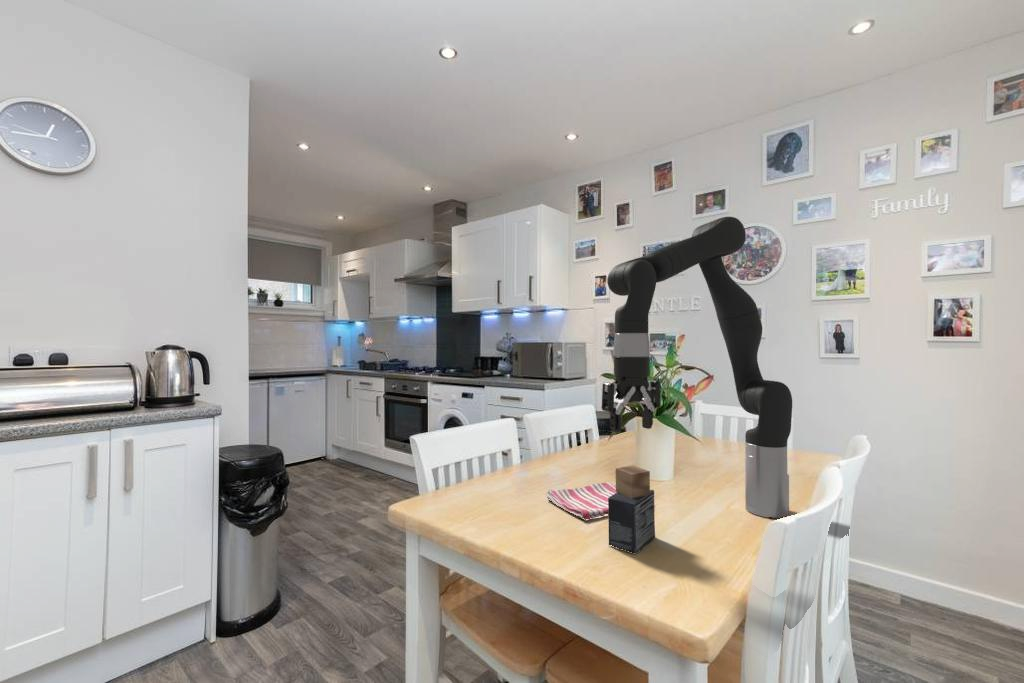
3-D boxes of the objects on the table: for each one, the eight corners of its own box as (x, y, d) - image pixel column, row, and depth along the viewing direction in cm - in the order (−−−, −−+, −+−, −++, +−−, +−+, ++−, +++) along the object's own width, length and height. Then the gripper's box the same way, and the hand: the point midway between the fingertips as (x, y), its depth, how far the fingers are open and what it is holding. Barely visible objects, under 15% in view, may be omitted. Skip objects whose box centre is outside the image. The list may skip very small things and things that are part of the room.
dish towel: (544, 502, 119) (544, 489, 119) (610, 488, 131) (610, 476, 131) (583, 524, 104) (583, 510, 104) (653, 507, 116) (653, 494, 116)
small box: (628, 529, 101) (628, 483, 101) (656, 537, 96) (656, 489, 97) (606, 546, 92) (606, 496, 93) (636, 555, 88) (636, 503, 88)
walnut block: (633, 487, 98) (633, 465, 98) (649, 494, 94) (649, 471, 94) (615, 491, 96) (615, 468, 96) (631, 498, 91) (631, 474, 91)
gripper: (644, 353, 101) (644, 424, 101) (594, 354, 95) (594, 429, 95) (669, 354, 94) (669, 430, 94) (616, 355, 88) (617, 436, 88)
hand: (631, 429), depth 95 cm, fingers open, 8 cm apart
